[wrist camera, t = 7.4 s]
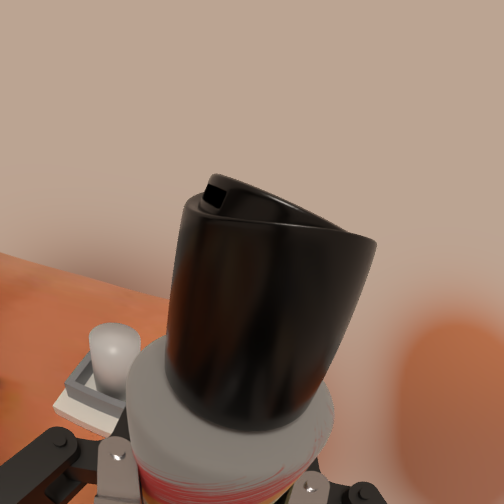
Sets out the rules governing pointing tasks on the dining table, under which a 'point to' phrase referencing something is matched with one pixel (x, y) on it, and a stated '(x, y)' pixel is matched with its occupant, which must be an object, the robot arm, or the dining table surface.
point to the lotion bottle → (243, 349)
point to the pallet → (100, 379)
